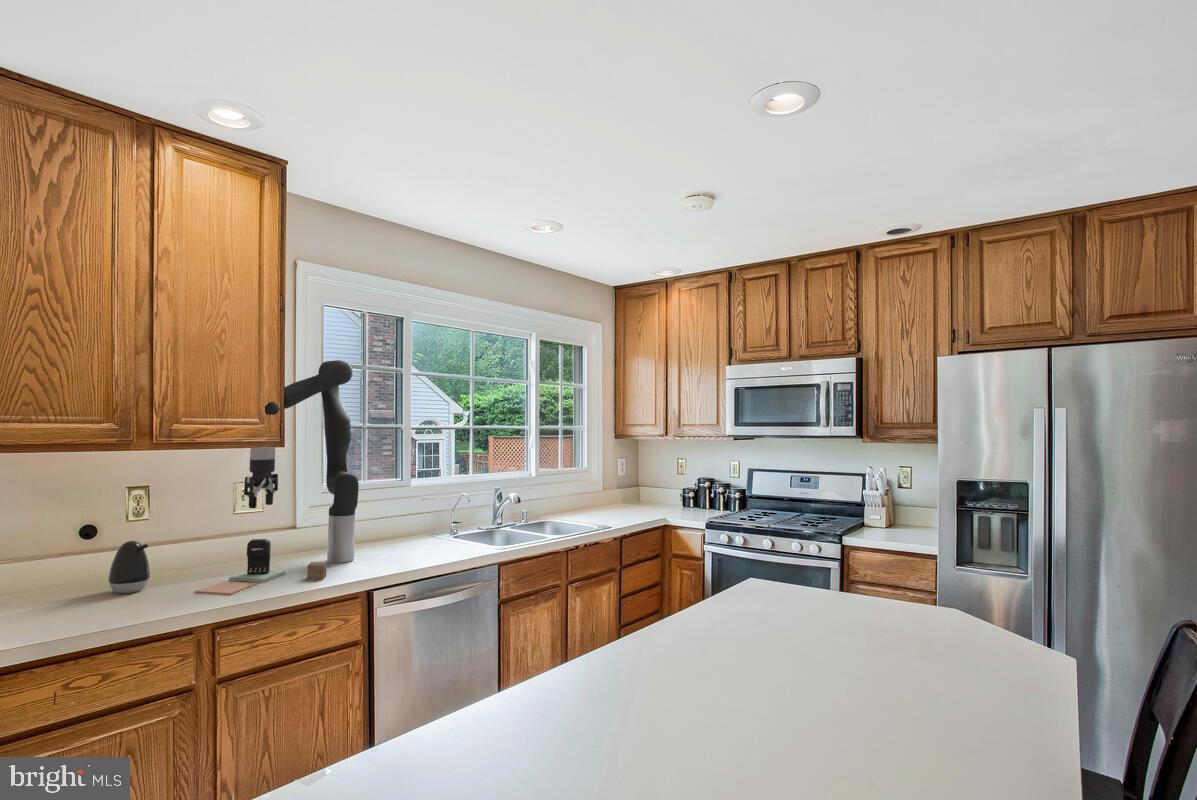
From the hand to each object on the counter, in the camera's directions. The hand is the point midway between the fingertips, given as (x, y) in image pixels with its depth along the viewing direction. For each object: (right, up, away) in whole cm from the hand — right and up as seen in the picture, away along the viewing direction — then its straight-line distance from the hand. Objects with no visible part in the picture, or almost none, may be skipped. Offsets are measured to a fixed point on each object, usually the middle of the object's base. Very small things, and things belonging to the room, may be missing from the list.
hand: (260, 506), depth 214 cm
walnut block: (+19, -24, 0) cm, 31 cm away
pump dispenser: (-29, -23, -20) cm, 42 cm away
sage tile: (0, -24, -1) cm, 24 cm away
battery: (-1, -23, -1) cm, 23 cm away
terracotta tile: (-2, -24, -16) cm, 28 cm away
